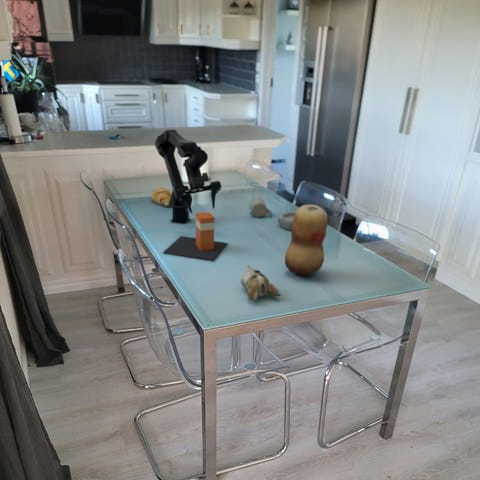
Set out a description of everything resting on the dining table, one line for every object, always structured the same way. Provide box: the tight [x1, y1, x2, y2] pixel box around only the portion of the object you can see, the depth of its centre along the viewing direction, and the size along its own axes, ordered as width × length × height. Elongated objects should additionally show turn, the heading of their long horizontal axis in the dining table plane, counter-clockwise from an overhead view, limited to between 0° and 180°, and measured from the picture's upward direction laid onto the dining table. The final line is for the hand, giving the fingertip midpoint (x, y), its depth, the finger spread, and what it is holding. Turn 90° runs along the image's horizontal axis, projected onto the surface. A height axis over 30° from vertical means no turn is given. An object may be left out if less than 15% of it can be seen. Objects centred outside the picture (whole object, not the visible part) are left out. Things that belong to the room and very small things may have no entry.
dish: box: [277, 211, 296, 231], centre depth 213 cm, size 14×14×5 cm
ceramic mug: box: [248, 196, 273, 218], centre depth 223 cm, size 11×8×8 cm
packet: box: [195, 211, 215, 251], centre depth 184 cm, size 6×6×13 cm
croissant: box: [150, 187, 172, 207], centre depth 235 cm, size 21×10×8 cm, turn 27°
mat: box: [163, 235, 228, 262], centre depth 187 cm, size 20×18×1 cm
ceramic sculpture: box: [240, 265, 282, 302], centre depth 154 cm, size 11×9×15 cm
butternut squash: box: [284, 204, 329, 277], centre depth 164 cm, size 14×13×25 cm
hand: (202, 210), depth 190 cm, fingers open, 9 cm apart
